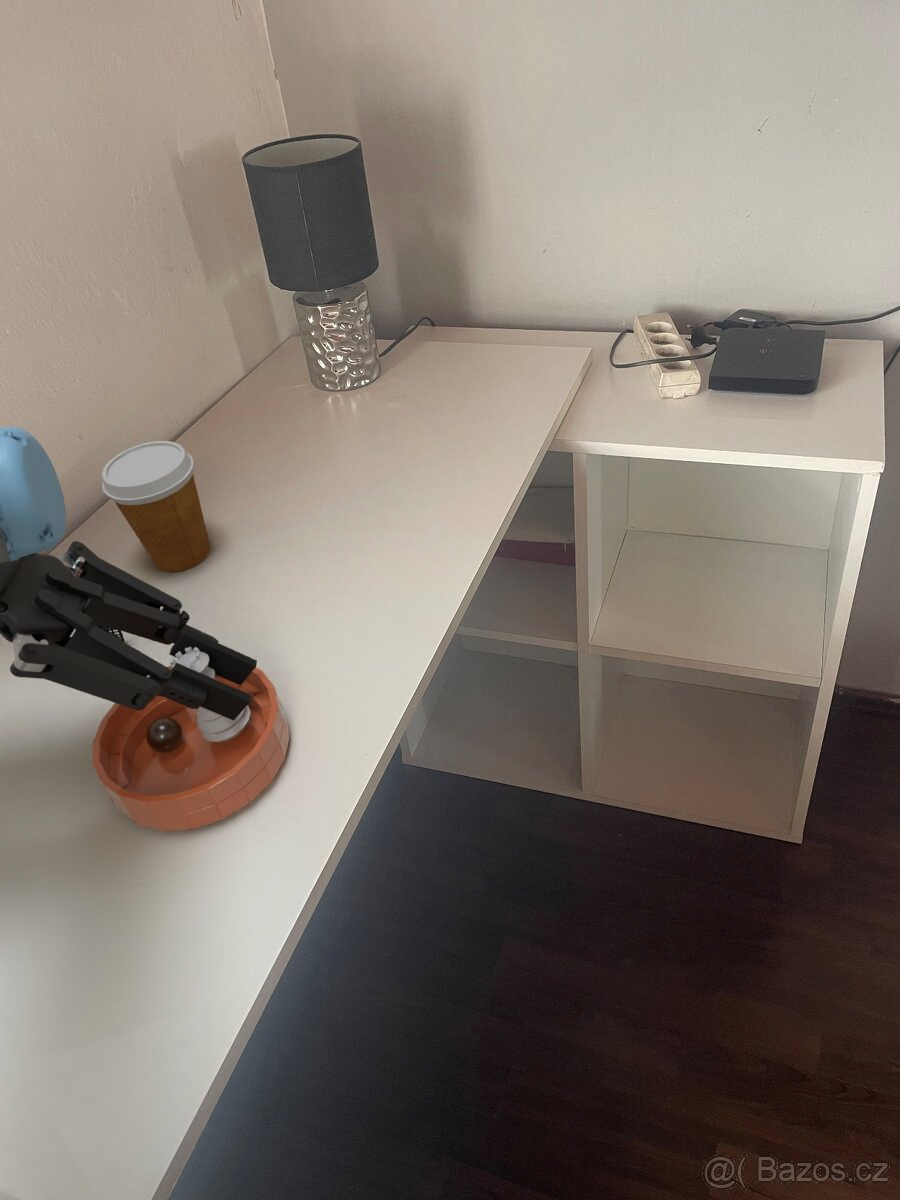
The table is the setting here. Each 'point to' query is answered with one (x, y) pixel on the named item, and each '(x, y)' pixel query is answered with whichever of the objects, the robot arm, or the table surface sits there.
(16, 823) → the table surface
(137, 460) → the disposable coffee cup
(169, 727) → the bead
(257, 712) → the bowl
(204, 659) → the rook chess piece
